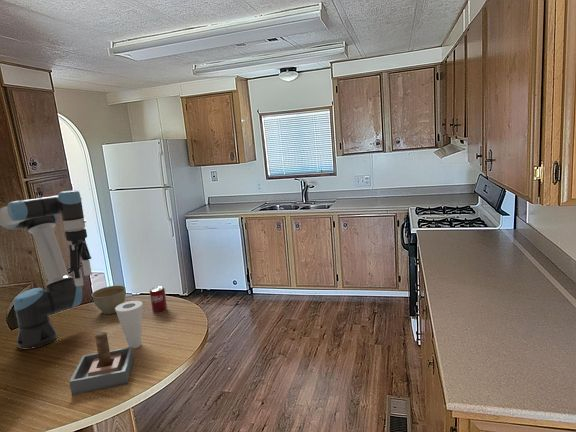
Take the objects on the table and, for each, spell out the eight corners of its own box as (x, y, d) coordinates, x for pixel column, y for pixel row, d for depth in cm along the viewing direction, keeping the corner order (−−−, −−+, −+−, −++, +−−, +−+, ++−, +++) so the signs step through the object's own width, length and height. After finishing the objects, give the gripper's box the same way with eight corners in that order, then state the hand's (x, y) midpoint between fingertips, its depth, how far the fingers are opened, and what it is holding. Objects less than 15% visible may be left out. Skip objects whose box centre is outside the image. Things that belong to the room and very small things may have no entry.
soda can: (162, 314, 197) (159, 291, 194) (149, 313, 198) (146, 291, 196) (169, 308, 204) (167, 286, 201) (157, 307, 205) (154, 286, 203)
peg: (99, 372, 146) (93, 338, 143) (102, 367, 150) (96, 333, 147) (111, 370, 147) (105, 336, 144) (113, 365, 151) (107, 331, 148)
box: (71, 394, 135) (69, 381, 134) (85, 367, 152) (82, 355, 151) (127, 384, 139) (125, 371, 138) (134, 358, 156) (132, 346, 155)
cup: (122, 354, 160) (116, 313, 156) (120, 343, 169) (114, 304, 166) (149, 347, 164) (144, 306, 161) (146, 336, 174) (140, 298, 170)
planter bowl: (101, 306, 213) (98, 287, 211) (132, 302, 214) (129, 284, 212) (89, 318, 197) (86, 298, 195) (123, 315, 199) (119, 295, 197)
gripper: (77, 234, 145) (86, 289, 149) (92, 222, 169) (100, 269, 173) (54, 237, 143) (64, 292, 147) (73, 224, 167) (81, 272, 171)
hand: (84, 280), depth 160 cm, fingers open, 13 cm apart
